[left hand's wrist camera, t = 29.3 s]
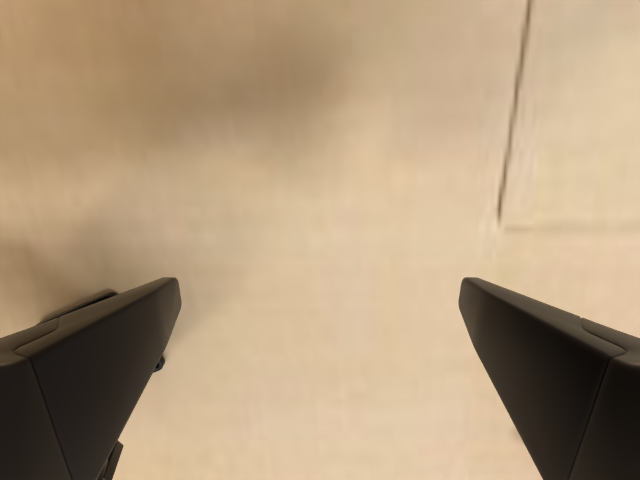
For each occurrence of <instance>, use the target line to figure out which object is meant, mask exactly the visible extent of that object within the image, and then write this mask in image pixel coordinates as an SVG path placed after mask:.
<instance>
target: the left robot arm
mask: <svg viewBox="0 0 640 480" xmlns="http://www.w3.org/2000/svg"><path fill="white" fill-rule="evenodd" d="M180 309H181V296H180V289H179V283H178V280H177V279H176V278H174V277H164V278H161V279H158V280H155V281H153V282H150V283H147V284H145V285H142V286H139V287H137V288H134V289H132V290H129V291H126V292H124V293H121V294H118V295H117V294H115V293H112V292H110V293H107V294H105V295H102V296H100V297H98V298H95V299H93V300H90V301H88V302H86V303H83V304H81V305H79V306H76V307H74V308H72V309H69V310H67V311H64V312H62V313H60V314H57V315H55V316H53V317H50V318H48V319H46V320H43V321H41V322H40V323H38V324H37V325H36V326H34V327H31V328H28V329H26V330H23V331H20V332H17V333H14V334H11V335H8V336H6V337H3V338H0V480H112V478H113V475H114V472H115V469H116V466H117V463H118V460H119V457H120V454H121V452H122V449H123V445H122V444H121V443H120V442H119V441H118V438H119V436H120V434H121V432H122V431H123V429H124V427H125V425H126V423H127V421H128V419H129V417H130V415H131V413H132V411H133V409H134V408H135V406H136V404H137V402H138V400H139V398H140V396H141V394H142V392H143V390H144V388H145V387H146V385H147V383H148V381H149V379H150V377H151V375H152V373H154V372H156V371H159V370H161V369H162V367H163V365H164V364H165V360H164V358H163V357H162V354H163V352H164V350H165V348H166V346H167V343H168V341H169V338H170V335H171V333H172V330H173V327H174V325H175V322H176V319H177V317H178V314H179V311H180ZM459 309H460V311H461V314H462V317H463V319H464V322H465V325H466V327H467V330H468V333H469V335H470V338H471V341H472V343H473V346H474V348H475V350H476V352H477V354H478V356H479V358H480V360H481V362H482V364H483V365H484V367H485V369H486V371H487V373H488V375H489V377H490V379H491V381H492V383H493V385H494V387H495V388H496V390H497V392H498V394H499V396H500V398H501V400H502V402H503V404H504V406H505V408H506V409H507V411H508V413H509V415H510V417H511V419H512V421H513V423H514V425H515V427H516V429H517V431H518V432H519V434H520V436H521V438H522V440H523V442H524V444H525V446H526V448H527V450H528V452H529V454H530V455H531V457H532V459H533V461H534V463H535V465H536V467H537V469H538V471H539V473H540V475H541V476H542V478H543V480H640V338H637V337H634V336H632V335H629V334H626V333H623V332H620V331H617V330H614V329H612V328H609V327H606V326H604V325H601V324H598V323H595V322H593V321H590V320H587V319H585V318H580V317H579V316H577V315H574V314H572V313H569V312H566V311H564V310H561V309H558V308H556V307H553V306H551V305H548V304H545V303H543V302H540V301H537V300H535V299H532V298H529V297H527V296H524V295H522V294H519V293H516V292H514V291H511V290H508V289H506V288H503V287H501V286H498V285H495V284H493V283H490V282H487V281H485V280H482V279H479V278H472V277H466V278H464V279H463V280H462V283H461V289H460V296H459Z"/></svg>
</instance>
